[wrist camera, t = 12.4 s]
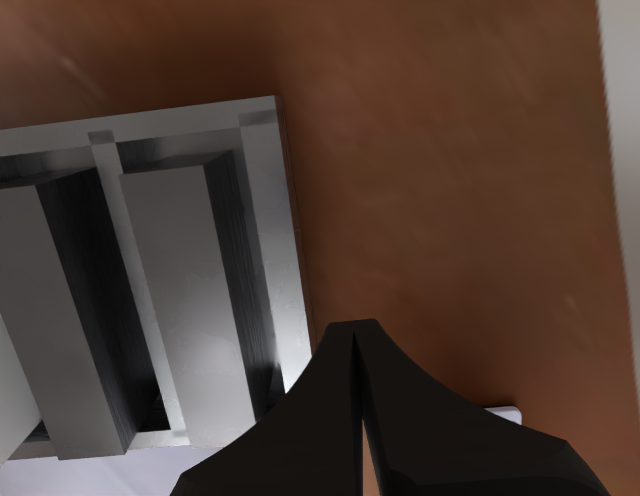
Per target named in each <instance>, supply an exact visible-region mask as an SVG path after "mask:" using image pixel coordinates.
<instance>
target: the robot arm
mask: <svg viewBox="0 0 640 496" xmlns="http://www.w3.org/2000/svg"><path fill="white" fill-rule="evenodd" d="M362 416H363V421H364V426H365V430H366V434H367V439H368V443H369V448H370V452H371V457H372V461H373V465H374V470H375V474H376V479H377V483H378V487H379V492H380V496H611V495H610V494H609V493H608V491H607V490H606V488H605V487H604V486H603V484H602V483H601V481H600V480H599V479H598V477H597V476H596V475H595V473H594V472H593V471H592V470H591V468H590V467H589V466H588V465H587V463H586V462H585V461H584V460H583V459H582V458H581V457H580V456H579V455H578V453H577V452H576V451H575V450H574V449H573V448H572V447H571V445H570V444H569V443H568V442H567V441H566V440H563V439H560V438H557V437H554V436H551V435H548V434H545V433H543V432H540V431H537V430H534V429H531V428H528V427H525V426H522V425H521V419H522V416H521V413H520V411H519V410H518V408H516V407H514V406H508V407H496V408H485V409H484V408H482V407H480V406H478V405H476V404H474V403H472V402H471V401H469V400H467V399H465V398H463V397H462V396H460V395H458V394H456V393H455V392H453V391H452V390H450V389H448V388H447V387H445V386H444V385H443V384H441V383H440V382H438V381H437V380H435V379H434V378H433V377H431V376H430V375H429V374H428V373H426V372H425V371H424V370H423V369H422V368H420V367H419V366H418V365H417V364H416V363H415V362H414V361H413V360H412V359H410V358H409V357H408V356H407V355H406V354H405V353H404V352H403V351H402V350H401V349H400V348H399V346H398V345H397V344H396V343H395V342H394V341H393V340H392V339H391V338H390V336H389V335H388V334H387V333H386V332H385V330H384V329H383V328H382V326H381V325H380V324H379V322H378V321H377V320H375V319H365V320H354V321H344V322H334V323H330V324H329V325H328V326H327V327H326V330H325V333H324V335H323V337H322V339H321V341H320V343H319V345H318V347H317V349H316V351H315V353H314V354H313V356H312V358H311V359H310V361H309V363H308V364H307V366H306V367H305V369H304V370H303V372H302V373H301V375H300V376H299V377H298V379H297V380H296V382H295V383H294V384H293V386H292V387H291V388H290V389H289V391H288V392H287V393H286V394H285V395H284V396H283V398H282V399H281V400H280V401H279V402H278V403H277V404H276V405H275V406H274V407H273V408H272V409H271V410H270V411H269V412H268V413H267V414H266V415H265V416H264V417H263V418H261V419H260V420H259V421H258V422H257V423H256V424H255V425H254V426H252V427H251V428H250V429H249V430H247V431H246V432H245V433H244V434H242V435H241V436H240V437H238V438H237V439H236V440H234V441H233V442H231V443H230V444H229V445H227V446H226V447H224V448H223V449H221V450H220V451H218V452H217V453H215V454H213V455H212V456H210V457H208V458H207V459H205V460H203V461H202V462H200V463H198V464H197V465H195V466H193V467H192V468H190V469H188V470H187V471H185V472H183V473H182V474H181V475H180V477H179V479H178V481H177V483H176V485H175V487H174V489H173V491H172V492H171V494H170V496H363V431H362ZM512 421H514V422H512Z"/></svg>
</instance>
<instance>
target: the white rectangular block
mask: <svg viewBox="0 0 640 496" xmlns="http://www.w3.org/2000/svg"><path fill="white" fill-rule="evenodd" d="M41 420H42V417H41V414H40V412H39V409H38V407H37V404H36V402H35V399H34V397H33V394H32V392H31V389H30V387H29V384H28V382H27V379H26V376H25V374H24V371H23V369H22V366H21V364H20V361H19V359H18V356H17V354H16V351H15V349H14V346H13V344H12V341H11V339H10V336H9V334H8V331H7V329H6V326H5V324H4V321H3V319H2V316H1V314H0V467H1V466H2V465H3V464H4V462H5V461H6V460H7V459H8V458H9V457H10V456H11V454H12V453H13V452H14V451H15V450H16V449H17V448H18V446H19V445H20V444H21V443H22V442H23V441H24V440H25V439H26V437H27V436H28V435H29V434H30V433H31V432H32V431H33V429H34V428H35V427H36V426H37V425H38V424H39V423H40V422H41Z"/></svg>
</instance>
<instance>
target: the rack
mask: <svg viewBox="0 0 640 496" xmlns="http://www.w3.org/2000/svg"><path fill="white" fill-rule="evenodd" d="M0 314H1V316H2V319H3V321H4V324H5V326H6V329H7V331H8V334H9V336H10V339H11V341H12V344H13V346H14V349H15V351H16V354H17V356H18V359H19V361H20V364H21V366H22V369H23V371H24V374H25V376H26V379H27V382H28V384H29V387H30V389H31V392H32V394H33V397H34V399H35V402H36V404H37V407H38V409H39V412H40V414H41V417H42V420H41V422H40V423H39V424H38V425H37V426H36V427H35V428H34V429H33V431H32V432H31V433H30V434H29V435H28V436H27V437H26V439H25V440H24V441H23V442H22V443H21V444H20V445H19V446H18V448H17V449H16V450H15V451H14V452H13V453H12V454H11V456H10V457H9V458H8V459H7V460H18V459H29V458H41V457H52V456H57V457H58V459H59V460H69V459H81V458H92V457H104V456H115V455H125V453H126V452H127V450H133V449H145V448H156V447H168V446H179V445H191V449H197V448H208V447H220V446H227V445H229V444H230V443H231V442H233V441H234V440H236V439H237V438H238V437H240V436H241V435H242V434H244V433H245V432H246V431H247V430H249V429H250V428H251V427H252V426H254V425H255V424H256V423H257V422H258V421H259V420H260V419H261V418H263V417H264V416H265V415H266V414H267V413H268V412H269V411H270V410H271V409H272V408H273V407H274V406H275V405H276V404H277V403H278V402H279V401H280V400H281V399H282V398H283V396H284V395H285V394H286V393H287V392H288V391H289V389H290V388H291V387H292V386H293V384H294V383H295V382H296V380H297V379H298V377H299V376H300V375H301V373H302V372H303V370H304V369H305V367H306V366H307V364H308V363H309V361H310V359H311V358H312V356H313V354H314V353H315V351H316V349H317V344H316V337H315V329H314V322H313V315H312V308H311V301H310V293H309V286H308V279H307V272H306V264H305V257H304V250H303V243H302V235H301V228H300V221H299V214H298V206H297V199H296V192H295V185H294V177H293V170H292V163H291V156H290V149H289V141H288V134H287V127H286V120H285V112H284V105H283V98H282V96H278V95H272V96H264V97H257V98H249V99H241V100H233V101H225V102H217V103H209V104H201V105H193V106H185V107H177V108H169V109H161V110H153V111H145V112H137V113H130V114H122V115H114V116H106V117H98V118H90V119H82V120H74V121H66V122H58V123H50V124H42V125H34V126H26V127H18V128H11V129H3V130H0Z"/></svg>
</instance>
